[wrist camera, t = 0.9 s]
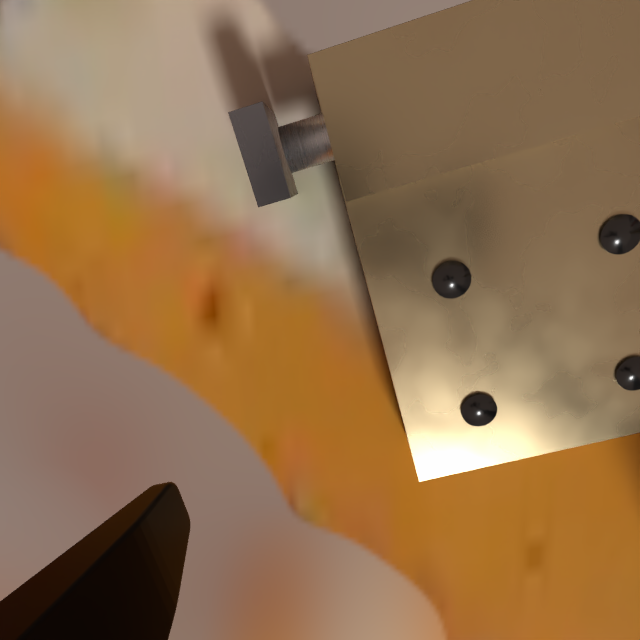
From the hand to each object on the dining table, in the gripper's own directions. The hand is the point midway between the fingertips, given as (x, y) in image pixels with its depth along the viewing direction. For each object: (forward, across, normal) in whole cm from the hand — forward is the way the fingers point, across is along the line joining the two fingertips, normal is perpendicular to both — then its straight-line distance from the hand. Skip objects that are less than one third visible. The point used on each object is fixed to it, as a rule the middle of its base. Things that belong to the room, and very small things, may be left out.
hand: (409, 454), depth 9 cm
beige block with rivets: (+12, -6, -1) cm, 14 cm away
